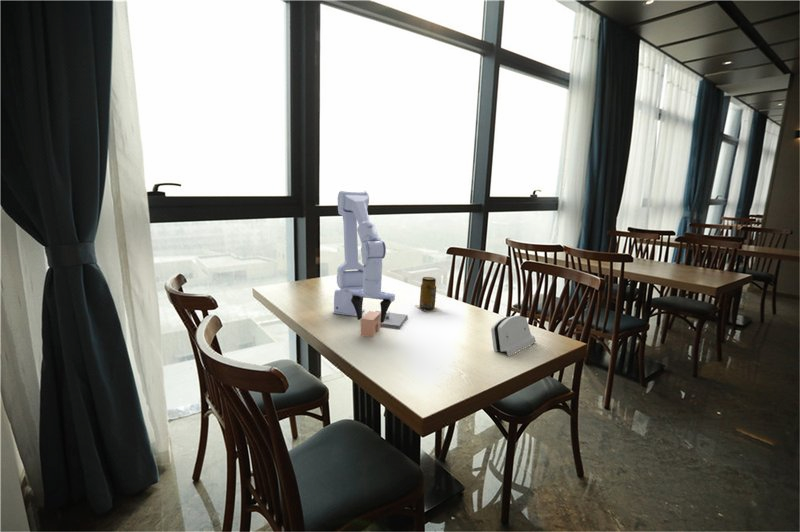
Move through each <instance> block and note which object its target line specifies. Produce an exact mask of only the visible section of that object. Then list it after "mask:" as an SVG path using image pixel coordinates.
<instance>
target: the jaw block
mask: <svg viewBox="0 0 800 532" xmlns="http://www.w3.org/2000/svg"><path fill="white" fill-rule="evenodd" d="M380 321H381V312H375V311H373V310H372V311H371V310H369V311H367V312H366V313H365V314H364V315H362V318H361V319H360V335H359V336H363V337H370V338H374V336H375V335H376V332H379V330H380V329H381V326H380Z"/></svg>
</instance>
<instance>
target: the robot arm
mask: <svg viewBox="0 0 800 532" xmlns="http://www.w3.org/2000/svg"><path fill="white" fill-rule="evenodd" d="M369 204H370V196H369V193H368V192H367V190H347V189H345V190H344V189H340V191H339V192H338V194H337V211H338V213H337V214H338V215H340V216H341V217H342V221H343V244H344V245H343V247H344V250H343V251H344V262H343V263H342V264H340V265H339V266H338V267H337V270H336V271H337V273H336V284H337V286H338V287H336V288H335V290H334V296H333V312H332V314H338V315H346V316H354V317H357V320H358V321H359V320H360V321H361V318H362V317H363V312H364V311H365V308H363V305H364V303H363V301H364V298H365V299H373V300H381V301H380V303H379V304H380V311H381V323H383V322H384V321H385V316H386V313H387V311H388V310H389V309H390V306H391V304H392V303H393V302H394V301H395V299H396V294H395V293H389V292H385V291H382V278H383V277H382V275H383V273H382V272H383V259H385V257H386V252H387V247H386V246H387V245H386V243H385V240H383V239H382V238H381V237H379V235H378V231H377V229H376V225H375V224H374V223H373V222H371V221H370V218H369V217H370V216H369V213H368V207H369ZM358 237H359V240H360V243H361V248H360V253H361V254H360V255H361V263H360V262H359V253H358V252H359V249H358V245H359V244H358ZM348 270H349V271H348Z"/></svg>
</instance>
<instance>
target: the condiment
mask: <svg viewBox="0 0 800 532" xmlns="http://www.w3.org/2000/svg"><path fill="white" fill-rule="evenodd" d="M421 279H422V280H421V285H420V293H419V295H420V296H419V304H418V305H417V304H416V305H415V307H416V308H418V309H420V310H422V311H424V312H429V313H430V312H436V311H439V312H440V311H441V309H440V308H438V307H436V298H437V297H436V295H437V285H436V281H437V279H436V278H435V277H433V276H432V277H431V276H424V277H422V278H421Z"/></svg>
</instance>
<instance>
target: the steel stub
mask: <svg viewBox="0 0 800 532" xmlns="http://www.w3.org/2000/svg"><path fill="white" fill-rule="evenodd" d="M390 313H391V312H390V311H388V310H387V313H386V316H385V318H386V319H389V315H390Z"/></svg>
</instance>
